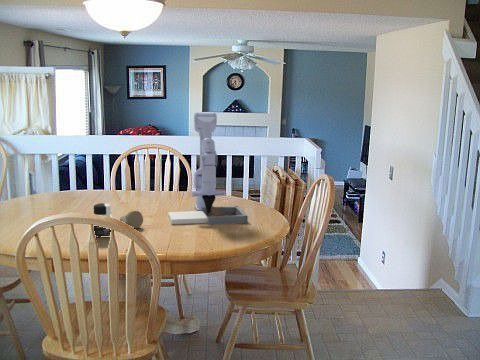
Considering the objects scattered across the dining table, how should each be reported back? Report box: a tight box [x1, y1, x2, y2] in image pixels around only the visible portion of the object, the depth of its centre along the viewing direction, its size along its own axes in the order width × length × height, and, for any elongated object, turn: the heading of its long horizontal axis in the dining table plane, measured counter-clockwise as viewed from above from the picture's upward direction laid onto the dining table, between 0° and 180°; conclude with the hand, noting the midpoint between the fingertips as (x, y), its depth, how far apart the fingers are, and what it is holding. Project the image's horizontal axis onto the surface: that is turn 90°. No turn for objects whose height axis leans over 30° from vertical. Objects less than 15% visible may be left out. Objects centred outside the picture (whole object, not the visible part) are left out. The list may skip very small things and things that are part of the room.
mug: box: [119, 210, 144, 230], centre depth 203 cm, size 8×10×10 cm
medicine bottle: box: [93, 202, 113, 237], centre depth 191 cm, size 7×7×12 cm
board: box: [167, 210, 208, 225], centre depth 216 cm, size 12×15×2 cm
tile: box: [211, 205, 226, 216], centre depth 220 cm, size 6×6×2 cm
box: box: [201, 205, 249, 225], centre depth 220 cm, size 17×16×3 cm
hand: (208, 212), depth 218 cm, fingers closed
